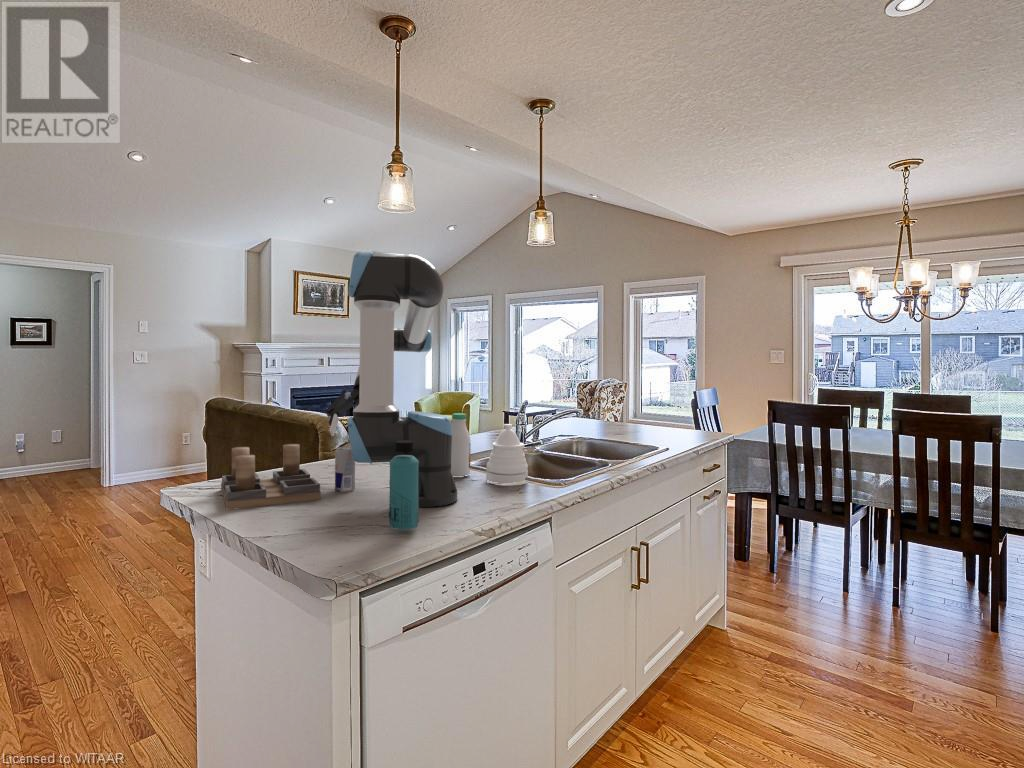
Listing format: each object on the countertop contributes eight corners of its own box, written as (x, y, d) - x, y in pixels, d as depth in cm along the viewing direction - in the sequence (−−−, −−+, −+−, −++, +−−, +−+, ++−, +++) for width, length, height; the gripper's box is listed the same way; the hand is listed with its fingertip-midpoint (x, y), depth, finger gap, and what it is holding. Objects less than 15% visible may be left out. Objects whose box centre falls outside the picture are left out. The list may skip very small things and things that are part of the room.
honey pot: (527, 487, 164) (529, 426, 163) (484, 485, 164) (486, 425, 163) (527, 477, 176) (528, 421, 175) (487, 476, 177) (488, 420, 176)
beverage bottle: (424, 529, 122) (425, 439, 121) (409, 538, 115) (410, 443, 114) (398, 525, 124) (399, 437, 123) (382, 534, 117) (383, 441, 116)
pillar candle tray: (320, 499, 144) (321, 454, 144) (226, 509, 133) (226, 460, 132) (304, 482, 163) (304, 441, 162) (221, 489, 152) (221, 446, 151)
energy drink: (337, 488, 157) (337, 446, 156) (356, 488, 157) (356, 446, 157) (332, 492, 151) (333, 449, 151) (352, 492, 152) (353, 449, 151)
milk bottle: (466, 478, 172) (467, 415, 171) (442, 477, 174) (443, 414, 173) (472, 473, 180) (474, 413, 179) (450, 472, 181) (451, 412, 180)
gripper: (407, 390, 181) (398, 442, 167) (331, 388, 180) (315, 440, 166) (404, 374, 175) (394, 427, 161) (326, 372, 175) (309, 425, 161)
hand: (354, 434), depth 164 cm, fingers open, 13 cm apart
